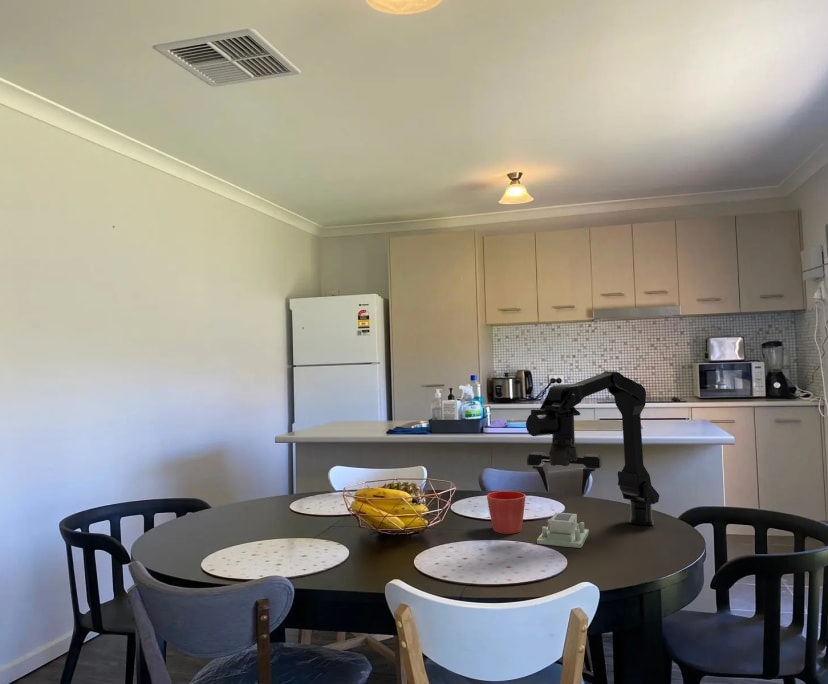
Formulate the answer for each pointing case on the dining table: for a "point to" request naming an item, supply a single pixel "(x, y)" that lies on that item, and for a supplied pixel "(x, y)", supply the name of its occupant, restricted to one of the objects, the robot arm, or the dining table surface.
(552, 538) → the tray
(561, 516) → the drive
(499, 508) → the flower pot
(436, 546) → the dining table surface
